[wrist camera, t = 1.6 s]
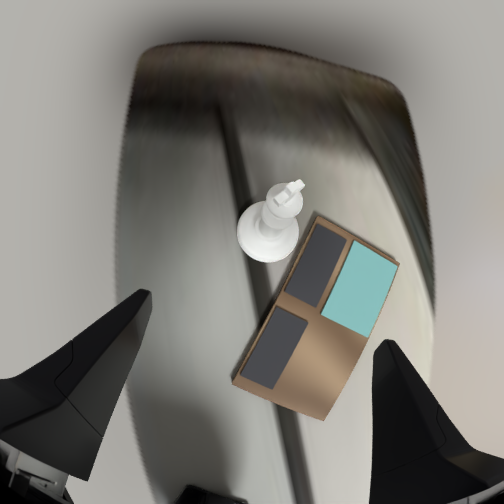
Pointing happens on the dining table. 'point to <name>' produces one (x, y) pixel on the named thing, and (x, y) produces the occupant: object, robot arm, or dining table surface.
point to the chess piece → (272, 223)
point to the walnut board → (314, 346)
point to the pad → (360, 289)
